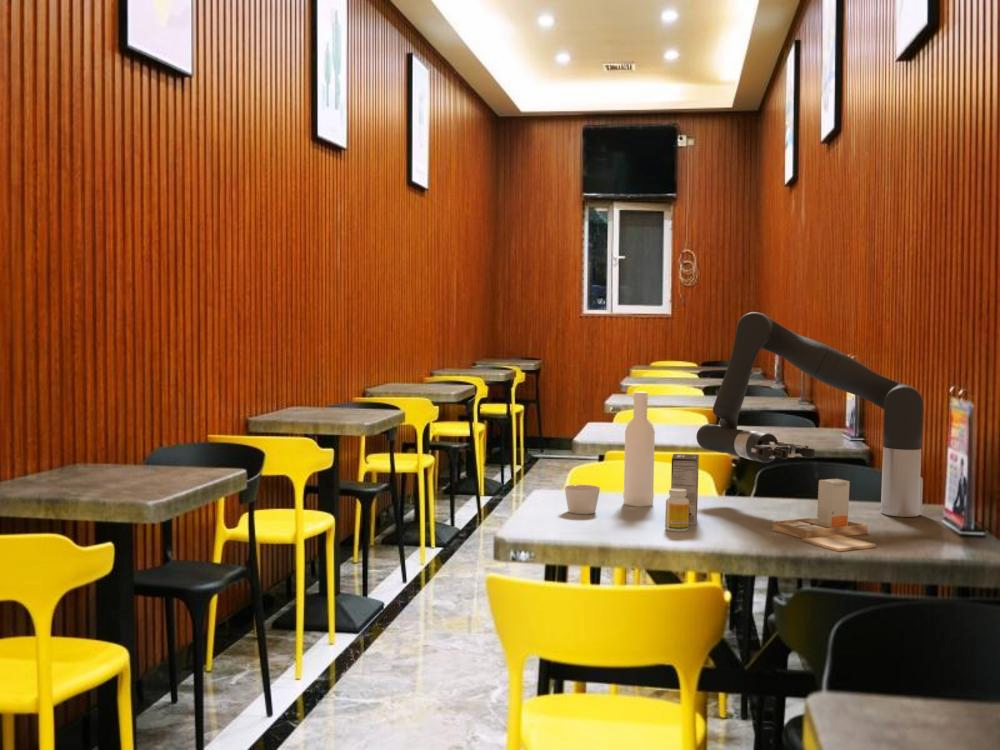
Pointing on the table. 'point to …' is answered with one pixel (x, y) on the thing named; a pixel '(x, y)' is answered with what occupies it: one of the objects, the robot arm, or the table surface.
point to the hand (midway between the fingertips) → (800, 454)
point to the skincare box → (833, 502)
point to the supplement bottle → (677, 510)
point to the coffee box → (687, 480)
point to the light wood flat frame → (817, 528)
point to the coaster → (838, 542)
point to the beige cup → (582, 498)
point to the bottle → (639, 456)
